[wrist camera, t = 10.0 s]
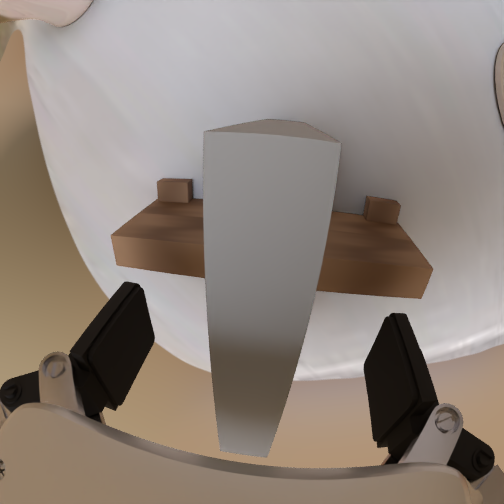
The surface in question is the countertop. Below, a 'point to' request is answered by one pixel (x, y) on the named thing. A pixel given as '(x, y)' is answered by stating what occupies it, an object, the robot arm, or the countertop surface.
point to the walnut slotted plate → (335, 255)
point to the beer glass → (43, 10)
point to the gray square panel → (262, 266)
